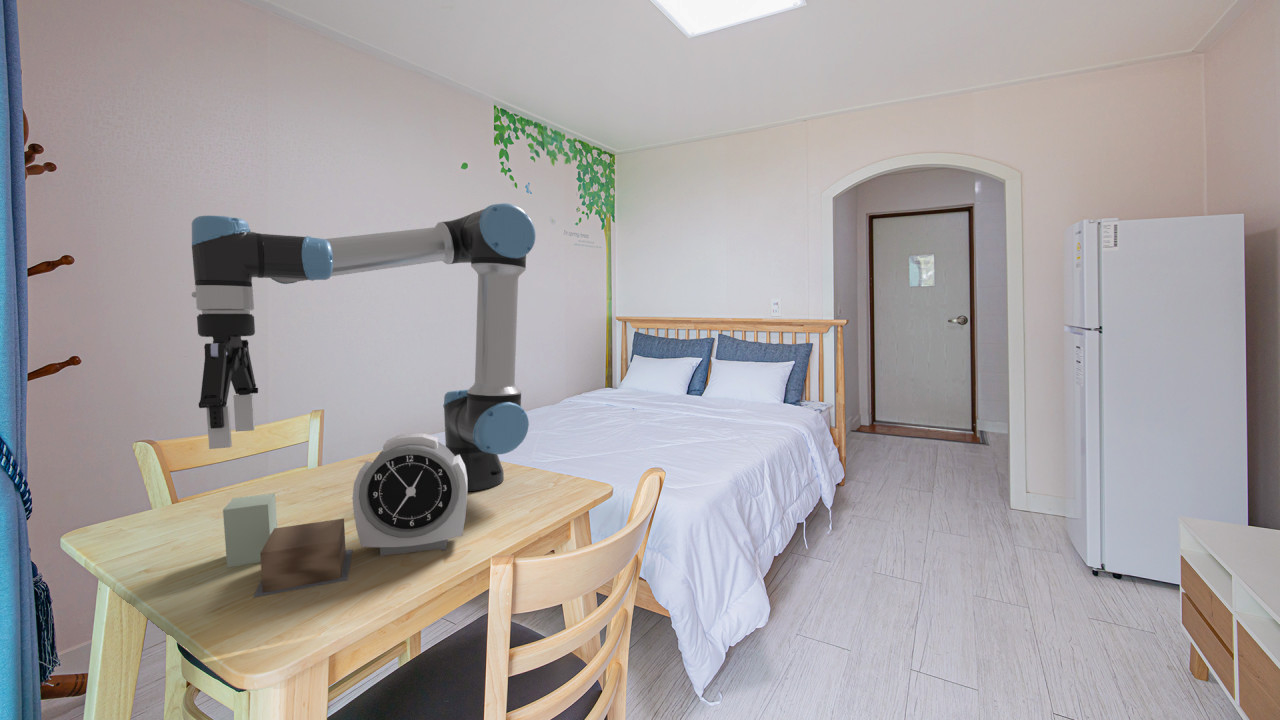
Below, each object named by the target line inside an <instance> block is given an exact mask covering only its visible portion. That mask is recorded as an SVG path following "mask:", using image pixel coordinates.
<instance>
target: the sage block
mask: <svg viewBox="0 0 1280 720" xmlns="http://www.w3.org/2000/svg"><path fill="white" fill-rule="evenodd" d="M276 502H277V500H276V493H275V492H274V493H265V494H259V495H257V494H256V495H249V496H242V497H241V496H240V497H235V498H234V497H233V498H232V499H231V500H230V502H228V503H227V504H226V506H225V507H224V508H223V509H222V515H223V526H224V527H223V529H224V541H225V543H224V544H225V554H226V568H233V567H239V566H245V565H250V564H251V565H252V564H255V563H256V564H257V563H261V557H260V553H261V551H262V549H263V547H264V546H265V544H266V542H267V540H268V538H269V537H270V535H271V533H272V531H273V529H274V528H278V519H277V518H278V516H277V514H278V513H277V503H276Z"/></svg>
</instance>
